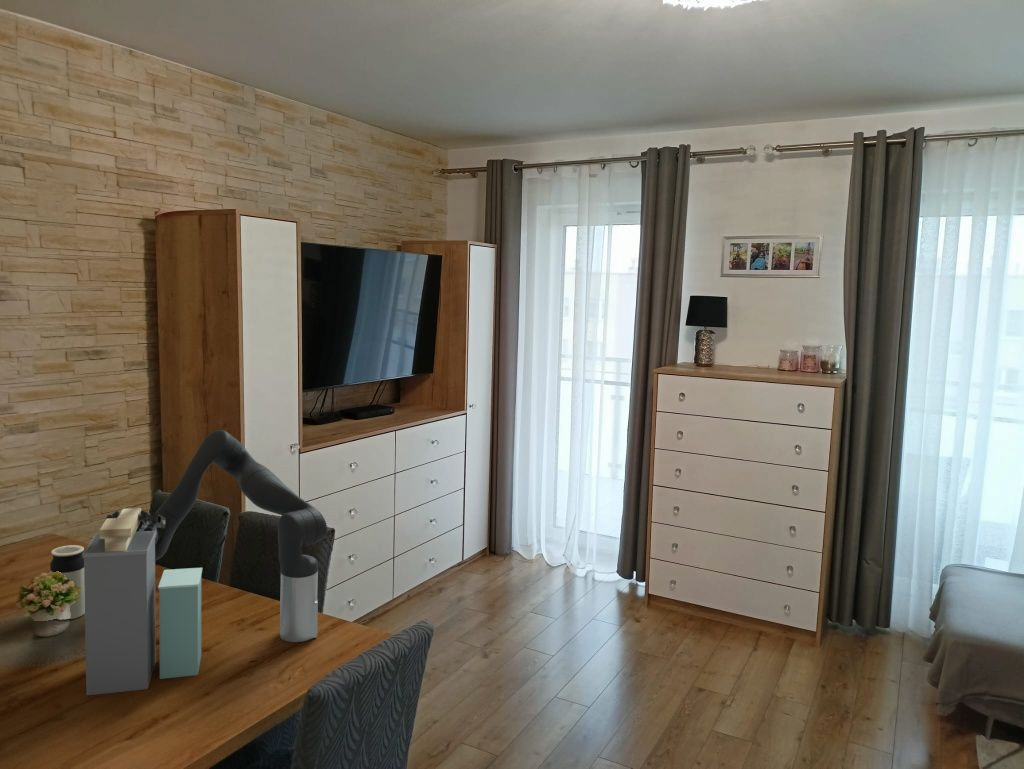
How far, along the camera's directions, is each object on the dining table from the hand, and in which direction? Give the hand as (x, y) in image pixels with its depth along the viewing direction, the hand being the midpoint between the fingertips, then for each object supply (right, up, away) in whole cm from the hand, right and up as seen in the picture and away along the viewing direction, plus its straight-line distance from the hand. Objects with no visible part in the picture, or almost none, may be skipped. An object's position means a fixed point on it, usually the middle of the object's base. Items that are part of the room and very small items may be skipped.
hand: (129, 515), depth 176 cm
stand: (+2, -36, -6) cm, 36 cm away
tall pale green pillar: (+12, -36, 0) cm, 38 cm away
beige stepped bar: (+2, -4, -5) cm, 7 cm away
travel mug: (-28, -31, +24) cm, 48 cm away
